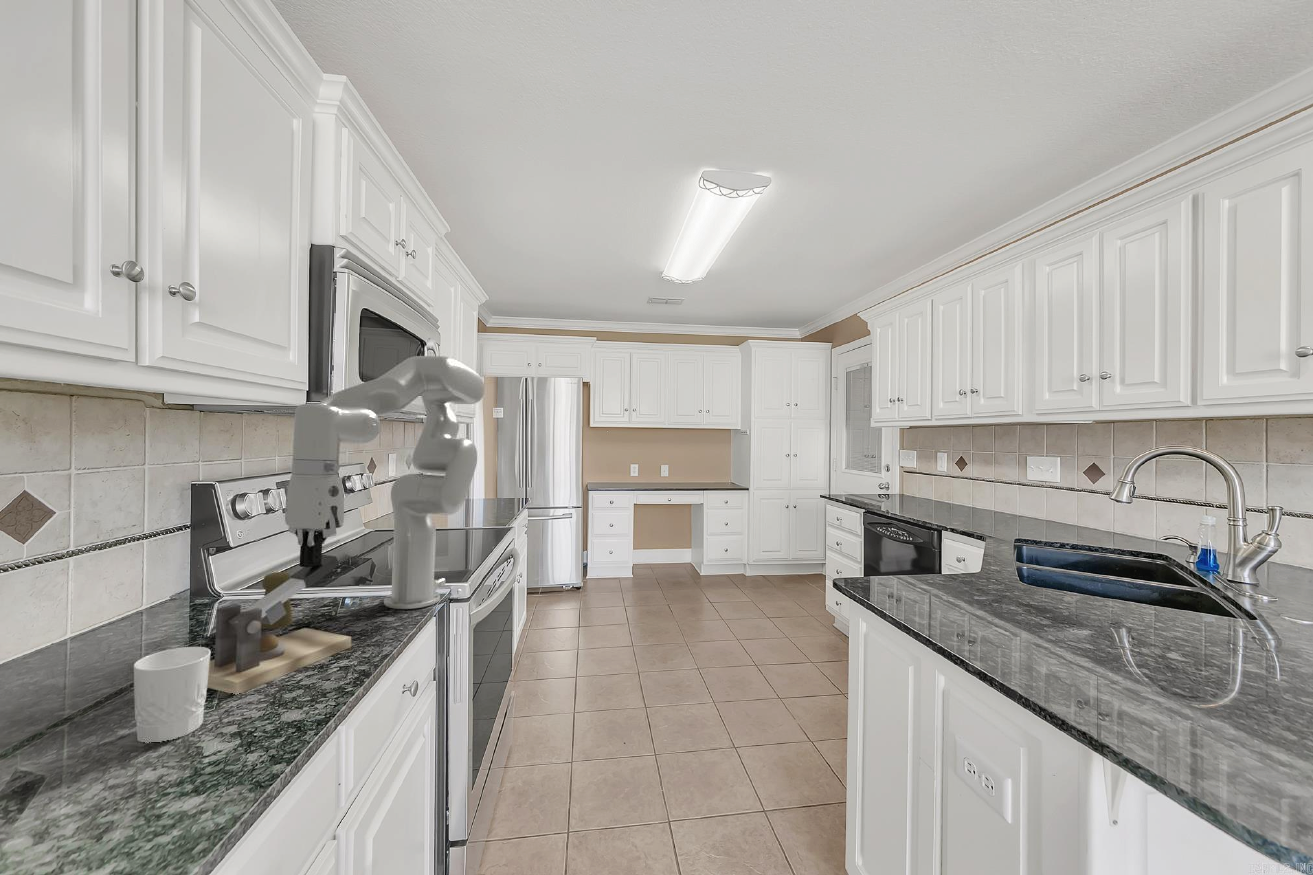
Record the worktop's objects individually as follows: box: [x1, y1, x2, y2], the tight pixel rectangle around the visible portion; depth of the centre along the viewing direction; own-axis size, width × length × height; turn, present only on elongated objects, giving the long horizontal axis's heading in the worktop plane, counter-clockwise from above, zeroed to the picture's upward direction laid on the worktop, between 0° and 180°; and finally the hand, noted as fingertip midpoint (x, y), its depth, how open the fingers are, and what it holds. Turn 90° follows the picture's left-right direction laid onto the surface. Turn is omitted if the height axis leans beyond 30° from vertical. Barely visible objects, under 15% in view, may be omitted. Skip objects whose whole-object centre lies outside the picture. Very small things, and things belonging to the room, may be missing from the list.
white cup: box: [133, 646, 212, 744], centre depth 74 cm, size 8×8×10 cm
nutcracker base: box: [207, 603, 352, 696], centre depth 96 cm, size 21×12×12 cm, turn 162°
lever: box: [228, 554, 340, 629], centre depth 98 cm, size 19×4×4 cm, turn 161°
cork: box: [261, 571, 294, 630], centre depth 114 cm, size 6×6×11 cm
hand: (310, 565), depth 101 cm, fingers closed
